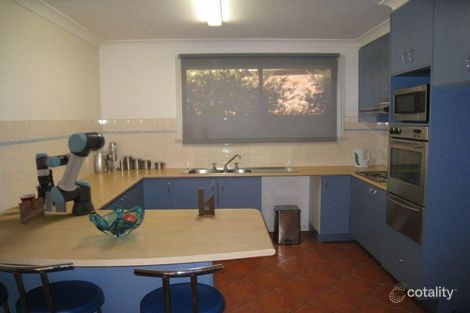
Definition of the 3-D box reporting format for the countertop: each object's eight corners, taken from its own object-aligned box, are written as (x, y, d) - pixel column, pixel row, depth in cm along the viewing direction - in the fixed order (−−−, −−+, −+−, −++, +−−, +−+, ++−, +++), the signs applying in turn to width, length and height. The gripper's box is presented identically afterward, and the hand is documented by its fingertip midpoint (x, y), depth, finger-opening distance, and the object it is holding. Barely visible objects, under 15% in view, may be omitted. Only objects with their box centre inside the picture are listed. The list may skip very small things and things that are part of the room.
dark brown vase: (39, 203, 286) (36, 168, 283) (63, 200, 293) (61, 166, 290) (37, 208, 270) (34, 171, 267) (63, 205, 277) (60, 169, 274)
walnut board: (44, 217, 243) (43, 197, 242) (23, 224, 226) (21, 203, 224) (42, 217, 243) (40, 196, 242) (21, 224, 226) (19, 203, 225)
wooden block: (215, 214, 238) (214, 188, 236) (198, 215, 237) (197, 189, 235) (214, 213, 242) (213, 187, 240) (198, 214, 240) (197, 188, 238)
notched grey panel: (66, 211, 249) (64, 192, 248) (64, 212, 247) (62, 192, 246) (44, 211, 253) (42, 191, 252) (42, 211, 251) (40, 192, 250)
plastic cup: (19, 211, 261) (18, 195, 260) (36, 208, 268) (34, 193, 266) (21, 214, 253) (20, 197, 251) (38, 211, 259) (37, 195, 258)
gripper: (46, 173, 257) (49, 205, 260) (30, 176, 243) (33, 210, 245) (55, 173, 255) (58, 205, 258) (39, 176, 241) (42, 210, 243)
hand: (46, 207), depth 251 cm, fingers closed on notched grey panel, 2 cm apart
